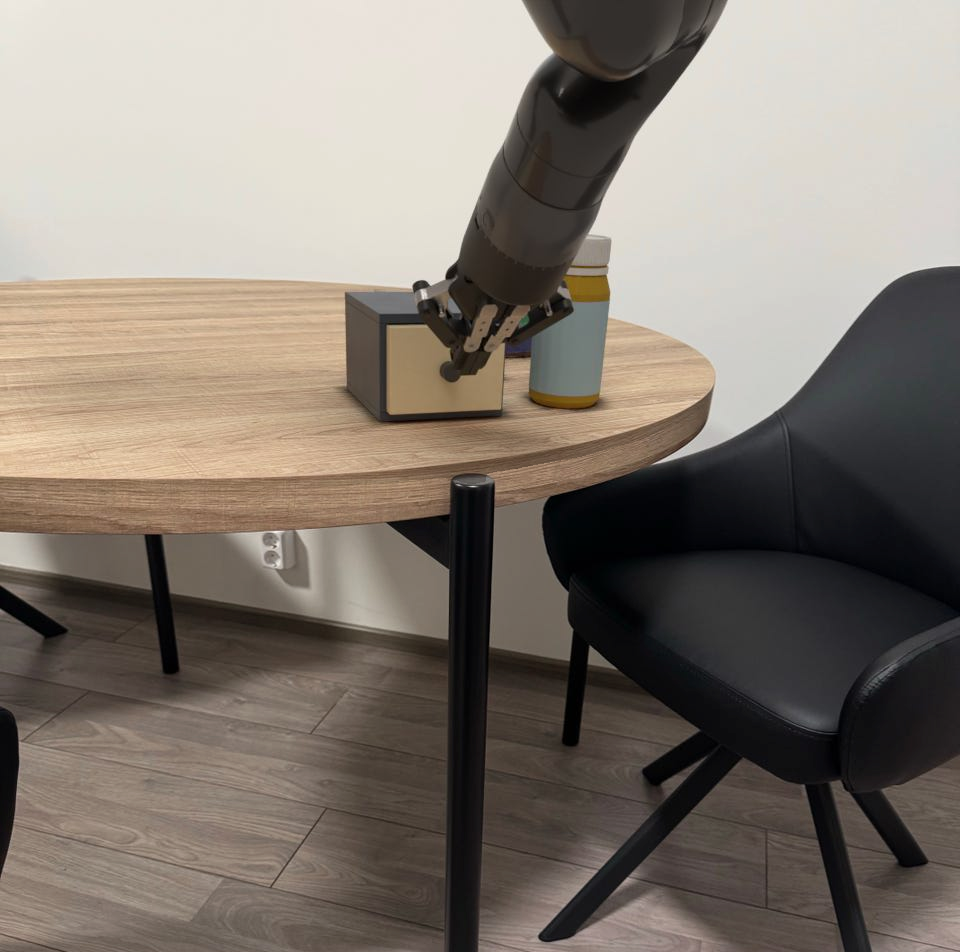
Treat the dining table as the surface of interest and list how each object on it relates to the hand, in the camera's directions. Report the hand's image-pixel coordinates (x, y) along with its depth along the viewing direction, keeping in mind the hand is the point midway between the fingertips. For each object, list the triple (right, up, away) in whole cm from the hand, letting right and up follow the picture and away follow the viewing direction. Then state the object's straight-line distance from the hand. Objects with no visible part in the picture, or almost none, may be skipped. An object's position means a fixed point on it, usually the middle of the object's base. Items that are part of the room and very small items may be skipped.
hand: (463, 366), depth 78 cm
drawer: (-3, 0, +9) cm, 10 cm away
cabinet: (-4, 0, +12) cm, 13 cm away
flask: (+6, +11, +34) cm, 36 cm away
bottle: (+10, +1, +15) cm, 18 cm away
